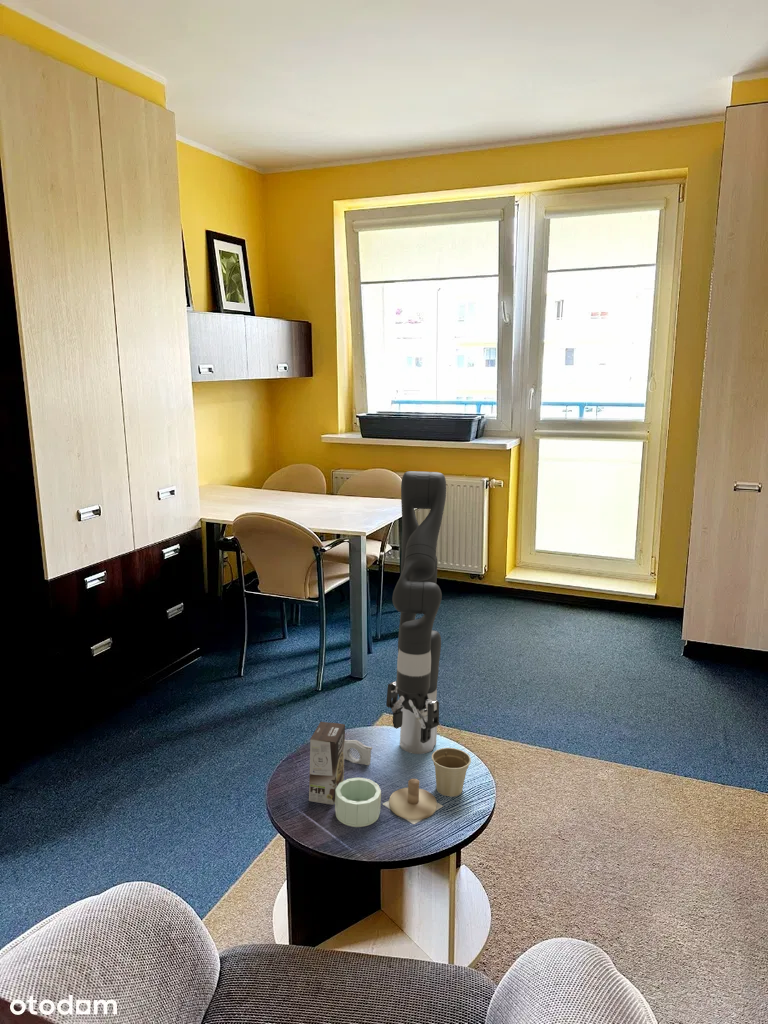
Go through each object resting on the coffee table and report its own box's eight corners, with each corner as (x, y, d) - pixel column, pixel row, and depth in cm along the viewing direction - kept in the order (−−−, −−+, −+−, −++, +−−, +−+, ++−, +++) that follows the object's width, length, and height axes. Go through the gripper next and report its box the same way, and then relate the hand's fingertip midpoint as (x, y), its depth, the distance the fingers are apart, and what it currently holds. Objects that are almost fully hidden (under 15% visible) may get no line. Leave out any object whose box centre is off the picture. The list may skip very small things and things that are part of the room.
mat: (411, 788, 169) (411, 787, 169) (443, 807, 162) (443, 805, 162) (382, 805, 162) (382, 804, 162) (413, 826, 155) (414, 824, 155)
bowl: (358, 795, 165) (359, 772, 164) (388, 815, 159) (389, 791, 157) (326, 813, 158) (327, 789, 157) (356, 834, 152) (357, 809, 150)
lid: (411, 785, 170) (412, 763, 168) (446, 806, 162) (447, 782, 161) (379, 804, 162) (380, 780, 161) (414, 826, 154) (415, 802, 153)
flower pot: (442, 774, 175) (444, 743, 174) (475, 788, 170) (477, 756, 168) (422, 791, 168) (424, 759, 166) (456, 806, 163) (458, 773, 161)
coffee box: (334, 806, 161) (336, 742, 158) (308, 802, 162) (308, 738, 159) (344, 784, 170) (346, 723, 167) (319, 780, 171) (320, 720, 168)
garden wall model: (328, 755, 183) (329, 734, 181) (332, 752, 184) (332, 731, 183) (368, 768, 177) (369, 746, 176) (372, 764, 179) (372, 743, 178)
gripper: (449, 673, 153) (445, 741, 156) (403, 653, 163) (400, 717, 166) (425, 683, 148) (422, 752, 151) (379, 662, 158) (377, 727, 161)
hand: (410, 734), depth 158 cm, fingers open, 8 cm apart
